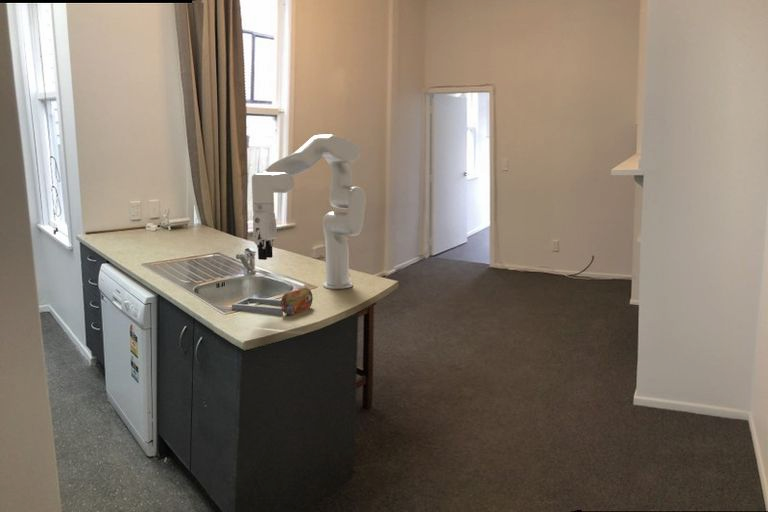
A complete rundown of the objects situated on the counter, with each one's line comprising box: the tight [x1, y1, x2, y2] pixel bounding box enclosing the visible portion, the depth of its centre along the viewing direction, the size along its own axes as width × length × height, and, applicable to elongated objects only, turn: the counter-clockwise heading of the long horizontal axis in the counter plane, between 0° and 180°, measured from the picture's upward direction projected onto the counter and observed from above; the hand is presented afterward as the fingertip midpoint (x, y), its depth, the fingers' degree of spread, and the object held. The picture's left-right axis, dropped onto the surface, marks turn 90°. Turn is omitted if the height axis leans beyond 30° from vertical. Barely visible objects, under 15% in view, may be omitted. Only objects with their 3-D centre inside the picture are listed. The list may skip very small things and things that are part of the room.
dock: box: [231, 296, 284, 316], centre depth 216 cm, size 11×20×2 cm, turn 72°
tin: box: [280, 287, 314, 316], centre depth 212 cm, size 15×3×8 cm, turn 148°
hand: (265, 257), depth 213 cm, fingers open, 3 cm apart
